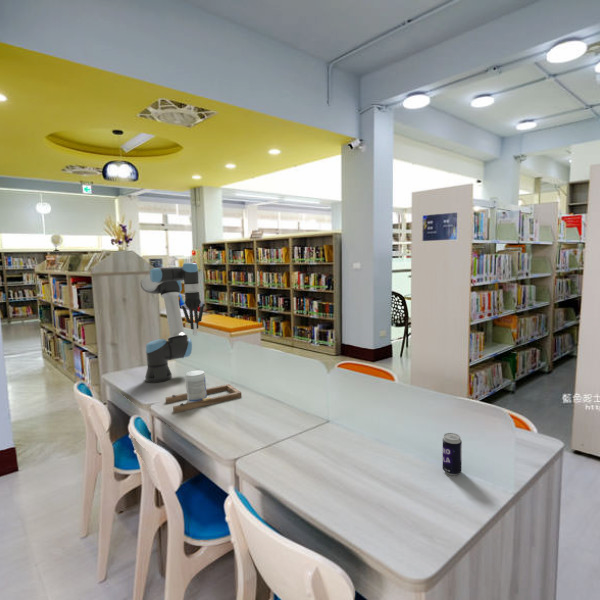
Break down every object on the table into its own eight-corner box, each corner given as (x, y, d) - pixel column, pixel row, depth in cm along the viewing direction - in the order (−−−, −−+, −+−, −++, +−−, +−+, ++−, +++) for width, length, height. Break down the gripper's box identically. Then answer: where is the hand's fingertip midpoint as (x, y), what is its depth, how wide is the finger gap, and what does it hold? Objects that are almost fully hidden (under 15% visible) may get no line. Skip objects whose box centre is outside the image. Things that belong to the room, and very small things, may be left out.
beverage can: (446, 465, 131) (446, 430, 130) (463, 470, 128) (464, 435, 127) (439, 472, 127) (440, 437, 126) (458, 478, 124) (458, 442, 122)
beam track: (165, 402, 200) (165, 396, 200) (229, 388, 218) (228, 382, 218) (174, 412, 186) (174, 406, 186) (241, 396, 204) (241, 391, 203)
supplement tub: (210, 400, 200) (208, 372, 198) (193, 406, 193) (191, 377, 192) (200, 396, 207) (198, 368, 205) (183, 401, 200) (181, 373, 198)
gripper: (181, 293, 206) (185, 337, 209) (206, 291, 213) (208, 334, 216) (177, 292, 212) (181, 335, 215) (201, 290, 219) (204, 332, 222)
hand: (195, 334), depth 215 cm, fingers closed
